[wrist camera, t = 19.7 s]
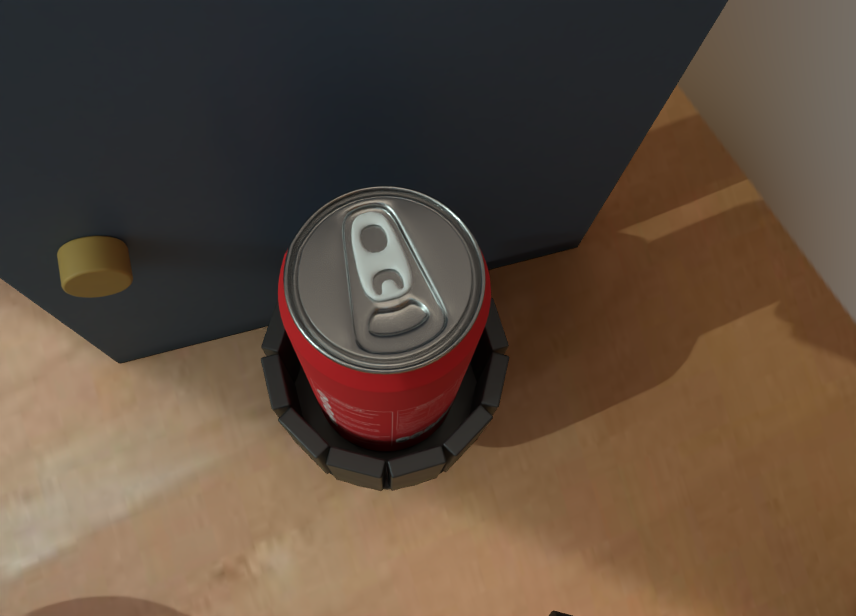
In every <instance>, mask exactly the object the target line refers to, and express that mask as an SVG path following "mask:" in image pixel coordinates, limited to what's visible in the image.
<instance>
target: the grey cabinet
mask: <svg viewBox="0 0 856 616" xmlns="http://www.w3.org/2000/svg"><path fill="white" fill-rule="evenodd" d="M727 1H728V0H0V278H1V279H2V280H4V281H5V282H6V283H8V284H9V285H11V286H12V287H13V288H15V289H16V290H17V291H19V292H20V293H22V294H23V295H24V296H26V297H27V298H29V299H30V300H31V301H33V302H34V303H36V304H37V305H38V306H40V307H41V308H43V309H44V310H45V311H47V312H48V313H50V314H51V315H52V316H54V317H55V318H56V319H58V320H59V321H61V322H62V323H63V324H65V325H66V326H68V327H69V328H70V329H72V330H73V331H75V332H76V333H77V334H79V335H80V336H82V337H83V338H84V339H86V340H87V341H89V342H90V343H91V344H93V345H94V346H95V347H97V348H98V349H100V350H101V351H102V352H104V353H105V354H107V355H108V356H109V357H111V358H112V359H113V360H115V361H116V362H118V363H123V362H127V361H131V360H135V359H139V358H143V357H147V356H151V355H155V354H159V353H163V352H166V351H170V350H174V349H178V348H182V347H186V346H190V345H194V344H198V343H202V342H206V341H210V340H214V339H218V338H222V337H226V336H229V335H233V334H237V333H241V332H245V331H249V330H253V329H257V328H261V327H265V326H268V328H267V331H266V334H265V337H264V340H263V343H262V346H261V347H262V349H263V351H264V353H265V354H266V357H263V358H261V363H262V367H263V372H264V376H265V381H266V385H267V390H268V394H269V398H270V403H271V407H272V409H273V411H274V412H275V413H276V415H277V416H278V417H279V419H278V421H279V422H280V423H281V425H282V426H283V427H284V428H285V430H286V431H287V432H288V433H289V435H290V436H291V437H292V438H293V440H294V441H295V442H296V443H297V444H298V445H299V446H300V447H301V448H302V449H303V450H304V451H305V452H306V453H307V454H308V455H309V456H310V457H311V459H312V460H313V461H315V462H316V463H317V465H318V466H319V467H320V468H321V469H322V470H323V471H324V472H325V473H327V474H328V473H330V474H332V475H333V476H334V477H335V478H336V479H337V480H340V481H344V482H348V483H351V484H354V485H357V486H360V487H366V488H371V489H375V490H379V491H382V490H383V489H386V490H388V489H391V490H392V491H394V490H397V489H400V488H405V487H409V486H414V485H417V484H419V483H422V482H425V481H428V480H431V479H435V478H437V476H438V475H439V474H440V473H442V472H443V471H444V472H447V471H448V470H449V468H450V467H451V466H452V465H453V464H454V463H455V462H456V461H457V460H458V459H459V458H460V457H461V456H462V455H463V454H464V452H465V451H466V450H467V449H468V448H469V447H470V446H471V445H472V444H473V443H474V442H475V441H476V440H477V438H478V437H479V436H480V434H481V433H482V432H483V430H484V429H485V428H486V426H487V425H488V424H489V422H490V421H491V420H492V418H493V416H492V415H493V414H494V412H495V411H496V409H497V408H498V407H499V403H500V399H501V394H502V389H503V385H504V380H505V375H506V371H507V366H508V361H509V356H507V355H504V353H505V351H506V350H507V348H508V342H507V339H506V336H505V333H504V330H503V327H502V324H501V321H500V318H499V315H498V312H497V309H496V306H495V303H494V300H493V298H491V302H490V309H489V315H488V318H487V322H486V325H485V327H484V330H483V332H482V335H481V337H480V340H479V342H478V344H477V347H476V349H475V351H474V354H473V356H472V359H471V361H470V363H469V366H468V368H467V371H466V373H465V375H464V378H463V380H462V382H461V385H460V387H459V390H458V392H457V394H456V397H455V399H454V401H453V404H452V406H451V409H450V411H449V413H448V415H447V416H446V418H445V420H444V421H443V423H442V424H441V425H440V426H439V428H438V429H437V430H436V431H435V432H434V433H433V434H431V435H430V436H429V437H428V438H426V439H425V440H423V441H422V442H420V443H418V444H416V445H414V446H411V447H409V448H405V449H402V450H396V451H375V450H370V449H366V448H362V447H360V446H357V445H355V444H353V443H351V442H350V441H348V440H346V439H345V438H344V437H342V436H341V435H340V434H339V433H338V432H337V431H336V430H335V429H334V428H333V427H332V426H331V425H330V423H329V422H328V421H327V419H326V417H325V416H324V414H323V412H322V409H321V407H320V405H319V403H318V401H317V398H316V396H315V394H314V392H313V390H312V387H311V385H310V383H309V381H308V379H307V376H306V374H305V372H304V370H303V368H302V365H301V363H300V361H299V359H298V357H297V354H296V352H295V350H294V348H293V346H292V343H291V341H290V339H289V337H288V335H287V332H286V330H285V327H284V325H283V321H282V318H281V314H280V310H279V302H278V283H279V275H280V270H281V266H282V262H283V258H284V255H285V253H286V251H287V249H288V247H289V244H290V242H291V240H292V239H293V237H294V236H295V234H296V233H297V231H298V230H299V228H300V227H301V226H302V224H303V223H304V222H305V221H306V220H307V218H308V217H309V216H310V215H311V214H312V213H313V212H315V211H316V210H317V209H318V208H319V207H321V206H322V205H323V204H325V203H326V202H328V201H329V200H331V199H333V198H335V197H337V196H339V195H341V194H343V193H346V192H349V191H351V190H355V189H358V188H363V187H369V186H379V185H390V186H400V187H406V188H410V189H414V190H417V191H420V192H423V193H426V194H428V195H430V196H432V197H434V198H436V199H438V200H439V201H441V202H442V203H444V204H445V205H447V206H448V207H449V208H451V209H452V210H453V211H454V212H455V213H456V214H457V215H458V216H459V217H460V218H461V219H462V220H463V221H464V222H465V223H466V225H467V226H468V227H469V229H470V230H471V232H472V234H473V235H474V237H475V239H476V241H477V243H478V245H479V247H480V249H481V251H482V253H483V256H484V258H485V261H486V264H487V267H488V270H489V269H493V268H497V267H501V266H505V265H509V264H513V263H517V262H521V261H525V260H528V259H532V258H536V257H540V256H544V255H548V254H552V253H556V252H560V251H564V250H568V249H572V248H576V247H578V245H579V244H580V242H581V241H582V239H583V237H584V236H585V234H586V232H587V231H588V229H589V227H590V226H591V224H592V222H593V221H594V219H595V218H596V216H597V214H598V213H599V211H600V209H601V208H602V206H603V204H604V203H605V201H606V200H607V198H608V196H609V195H610V193H611V191H612V190H613V188H614V186H615V185H616V183H617V182H618V180H619V178H620V177H621V175H622V173H623V172H624V170H625V168H626V167H627V165H628V164H629V162H630V160H631V159H632V157H633V155H634V154H635V152H636V150H637V149H638V147H639V146H640V144H641V142H642V141H643V139H644V137H645V136H646V134H647V132H648V131H649V129H650V128H651V126H652V124H653V123H654V121H655V119H656V118H657V116H658V114H659V113H660V111H661V110H662V108H663V106H664V105H665V103H666V101H667V100H668V98H669V96H670V95H671V93H672V92H673V90H674V88H675V87H676V85H677V83H678V82H679V80H680V78H681V77H682V75H683V74H684V72H685V70H686V69H687V67H688V65H689V64H690V62H691V60H692V59H693V57H694V56H695V54H696V52H697V51H698V49H699V47H700V46H701V44H702V42H703V41H704V39H705V37H706V36H707V34H708V33H709V31H710V29H711V28H712V26H713V24H714V23H715V21H716V19H717V18H718V16H719V15H720V13H721V11H722V10H723V8H724V6H725V5H726V3H727Z"/></svg>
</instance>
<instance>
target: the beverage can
mask: <svg viewBox="0 0 856 616" xmlns="http://www.w3.org/2000/svg"><path fill="white" fill-rule="evenodd" d="M278 302H279V310H280V314H281V318H282V321H283V325H284V327H285V330H286V332H287V335H288V337H289V339H290V341H291V343H292V346H293V348H294V350H295V352H296V354H297V357H298V359H299V361H300V363H301V365H302V368H303V370H304V372H305V374H306V376H307V379H308V381H309V383H310V385H311V387H312V390H313V392H314V394H315V396H316V398H317V401H318V403H319V405H320V407H321V409H322V412H323V414H324V416H325V417H326V419H327V421H328V422H329V423H330V425H331V426H332V427H333V428H334V429H335V430H336V431H337V432H338V433H339V434H340V435H341V436H342V437H344V438H345V439H346V440H348V441H350V442H351V443H353V444H355V445H357V446H360V447H362V448H366V449H370V450H375V451H396V450H402V449H405V448H409V447H411V446H414V445H416V444H418V443H420V442H422V441H423V440H425V439H426V438H428V437H429V436H430V435H431V434H433V433H434V432H435V431H436V430H437V429H438V428H439V426H440V425H441V424H442V423H443V421H444V420H445V418H446V416H447V415H448V413H449V411H450V409H451V406H452V404H453V401H454V399H455V397H456V394H457V392H458V390H459V387H460V385H461V382H462V380H463V378H464V375H465V373H466V371H467V368H468V366H469V363H470V361H471V359H472V356H473V354H474V351H475V349H476V347H477V344H478V342H479V340H480V337H481V335H482V332H483V330H484V327H485V325H486V322H487V318H488V315H489V309H490V302H491V283H490V276H489V271H488V267H487V264H486V261H485V258H484V256H483V253H482V251H481V249H480V247H479V245H478V243H477V241H476V239H475V237H474V235H473V234H472V232H471V230H470V229H469V227H468V226H467V225H466V223H465V222H464V221H463V220H462V219H461V218H460V217H459V216H458V215H457V214H456V213H455V212H454V211H453V210H452V209H451V208H449V207H448V206H447V205H445V204H444V203H442V202H441V201H439V200H438V199H436V198H434V197H432V196H430V195H428V194H426V193H423V192H420V191H417V190H414V189H410V188H406V187H400V186H390V185H379V186H369V187H363V188H358V189H355V190H351V191H349V192H346V193H343V194H341V195H339V196H337V197H335V198H333V199H331V200H329V201H328V202H326V203H325V204H323V205H322V206H321V207H319V208H318V209H317V210H316V211H315V212H313V213H312V214H311V215H310V216H309V217H308V218H307V220H306V221H305V222H304V223H303V224H302V226H301V227H300V228H299V230H298V231H297V233H296V234H295V236H294V237H293V239H292V240H291V242H290V244H289V247H288V249H287V251H286V253H285V255H284V258H283V262H282V266H281V270H280V275H279V283H278Z"/></svg>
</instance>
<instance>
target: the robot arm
mask: <svg viewBox="0 0 856 616" xmlns="http://www.w3.org/2000/svg"><path fill="white" fill-rule="evenodd" d="M549 616H572V615H568V614H565V613H561V612H557V611H552V612H551V613H550V615H549Z"/></svg>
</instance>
